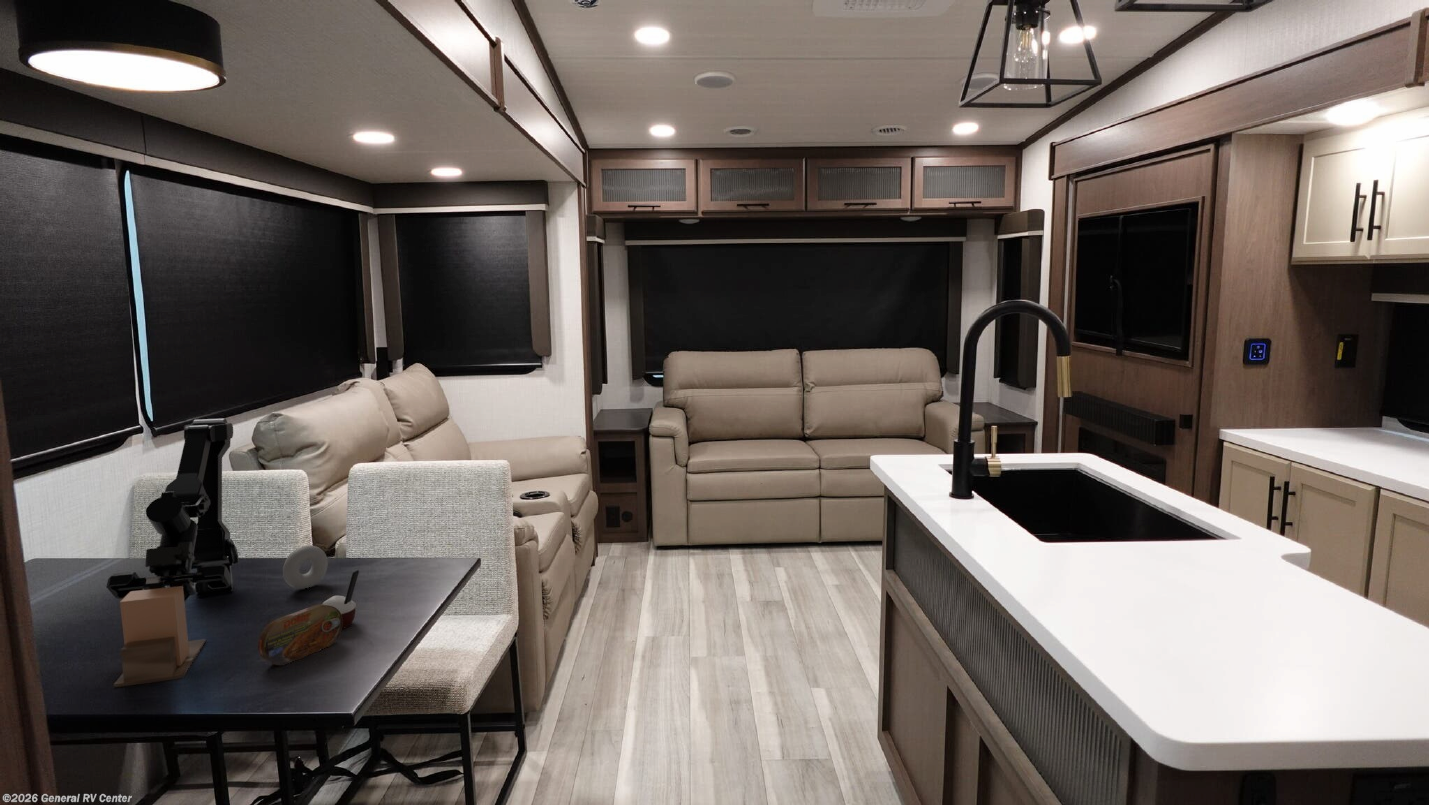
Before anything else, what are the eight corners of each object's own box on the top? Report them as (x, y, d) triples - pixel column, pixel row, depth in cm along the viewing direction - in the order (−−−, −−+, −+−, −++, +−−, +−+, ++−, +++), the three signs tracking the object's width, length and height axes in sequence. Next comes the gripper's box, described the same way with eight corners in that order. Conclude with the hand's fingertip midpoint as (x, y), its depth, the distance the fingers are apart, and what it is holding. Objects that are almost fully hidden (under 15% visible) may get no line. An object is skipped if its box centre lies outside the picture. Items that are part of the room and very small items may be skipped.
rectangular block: (137, 659, 140) (130, 591, 138) (189, 653, 143) (182, 586, 141) (127, 672, 135) (119, 602, 133) (180, 665, 138) (174, 596, 136)
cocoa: (314, 627, 157) (307, 571, 155) (344, 616, 162) (337, 561, 160) (338, 638, 151) (331, 579, 150) (368, 626, 156) (362, 569, 155)
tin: (266, 673, 138) (263, 628, 136) (257, 668, 139) (253, 624, 138) (345, 641, 150) (342, 600, 149) (335, 637, 152) (333, 596, 151)
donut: (289, 596, 172) (286, 553, 170) (281, 593, 173) (277, 550, 172) (332, 583, 180) (329, 541, 178) (323, 580, 182) (321, 539, 180)
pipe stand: (144, 649, 146) (141, 616, 145) (206, 641, 149) (203, 609, 148) (114, 687, 132) (110, 651, 131) (182, 678, 135) (179, 642, 134)
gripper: (104, 532, 141) (86, 613, 133) (222, 523, 148) (211, 599, 139) (125, 559, 150) (109, 637, 141) (235, 549, 156) (226, 623, 147)
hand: (164, 623), depth 142 cm, fingers closed
